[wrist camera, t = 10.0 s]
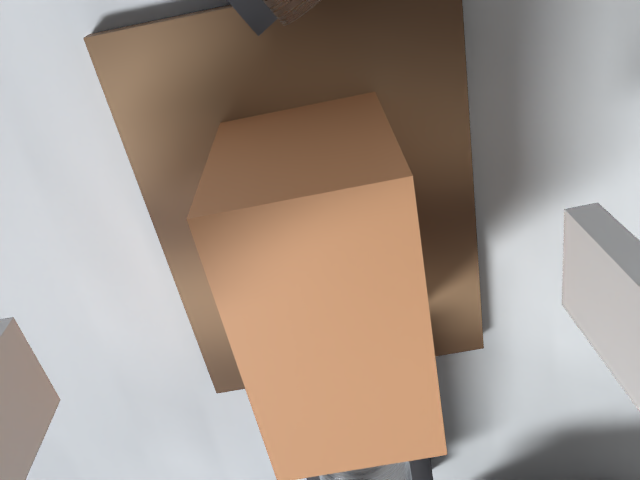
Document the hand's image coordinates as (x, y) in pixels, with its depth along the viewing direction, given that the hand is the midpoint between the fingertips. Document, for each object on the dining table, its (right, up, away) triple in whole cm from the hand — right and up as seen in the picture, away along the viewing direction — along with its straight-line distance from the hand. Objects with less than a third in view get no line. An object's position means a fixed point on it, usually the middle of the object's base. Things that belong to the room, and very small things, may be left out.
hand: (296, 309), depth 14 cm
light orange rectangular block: (+1, +2, +5) cm, 5 cm away
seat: (0, +3, +5) cm, 6 cm away
